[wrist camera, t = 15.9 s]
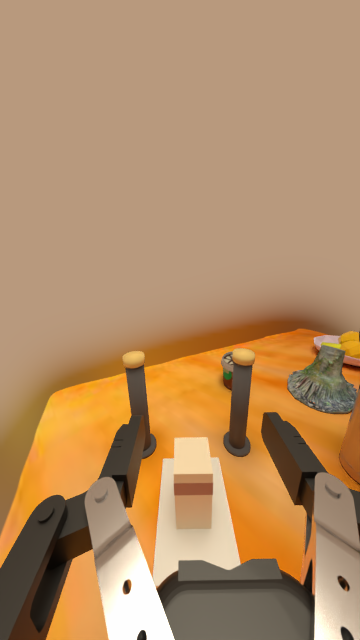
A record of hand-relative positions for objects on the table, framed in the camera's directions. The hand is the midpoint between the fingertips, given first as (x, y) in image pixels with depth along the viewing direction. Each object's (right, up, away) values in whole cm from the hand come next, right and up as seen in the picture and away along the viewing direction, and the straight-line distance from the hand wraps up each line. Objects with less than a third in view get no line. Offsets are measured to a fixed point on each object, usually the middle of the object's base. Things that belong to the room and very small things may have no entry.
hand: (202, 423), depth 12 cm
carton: (+1, -25, +19) cm, 31 cm away
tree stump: (+44, -17, +47) cm, 67 cm away
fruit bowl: (+73, -11, +66) cm, 99 cm away
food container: (+16, -16, +52) cm, 57 cm away
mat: (+1, -26, +19) cm, 32 cm away
